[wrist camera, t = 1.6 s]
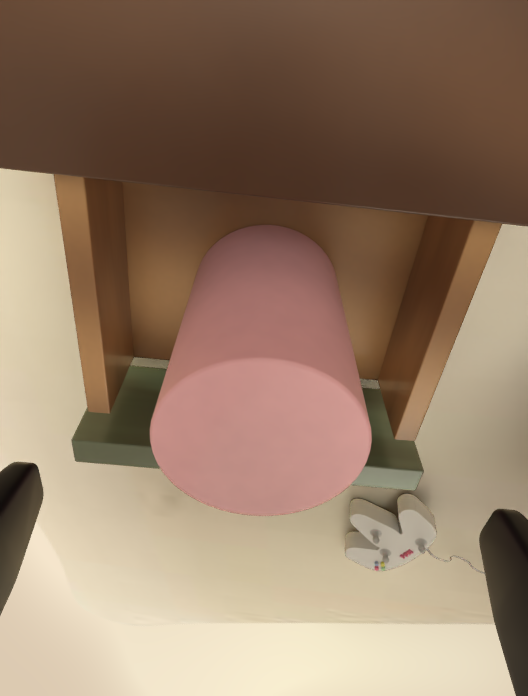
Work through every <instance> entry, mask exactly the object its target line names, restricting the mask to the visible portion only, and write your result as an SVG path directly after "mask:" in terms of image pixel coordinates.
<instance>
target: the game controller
mask: <svg viewBox="0 0 528 696" xmlns="http://www.w3.org/2000/svg"><path fill="white" fill-rule="evenodd" d="M397 504H398V515H399V521H400V522H398V520H397V518H396V516H395V515H394V514H392V513H391V512H389V511H387V510H385V509H382V508H380V507H378V506H376V505H374V504H372V503H370V502H368V501H366V500H363V499H353V500H352V501H351V502H350V522H351V524H352V525H353V526H354V527H355V528H356V529H357V530H358V531H359V532H349V533H348V534H347V535H346V537H345V556H346V557H347V558H348V559H350V560H352V561H354V562H356V563H358V564H360V565H362V566H364V567H366V568H368V569H372V570H375V571H386V570H390V569H394V568H396V567H399V566H401V565H404V564H406V563H407V562H409V561H411V560H413V559H415V558H416V557H417V556H419V555H420V554H423V553H425V551H426V550H427V551H428V552H429V554H430V555H432V556H433V557H435V558H436V559H439V560H441V561H446V560H442V559H440V558H438V557H436V556H434V555H433V554H432V553H431V552H430V551H429V550H428V549H427V548H428V547H429V546H430V545H431V544H432V543H433V541H434V540H435V538H436V534H437V531H436V526H435V520H434V516H433V514H432V512H431V511H430V509H429V508H428V507H426V506H425V505H424V504H423V503H422V502H421V501H420V500H419V499H418V498H417V497H416V496H414V495H411V494H403V495H401V496H400V497H399V498H398V499H397ZM451 557H457V558H460V559H462V560H464V561H466V562H467V563H468V564H469V565H470V566H471V567H472V568H473V569H474V570H476V571H478V572H480V573H484V572H481V571H479V570H477V569H476V568H474V567H473V566H472V565H471V563H470V562H468V561H467V560H465V559H463V558H461V557H458V556H451ZM451 557H450V561H451V560H452V559H451ZM446 562H449V561H446ZM484 574H485V573H484Z"/></svg>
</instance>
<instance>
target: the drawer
mask: <svg viewBox="0 0 528 696" xmlns="http://www.w3.org/2000/svg"><path fill="white" fill-rule="evenodd" d="M54 179H55V186H56V193H57V200H58V207H59V214H60V221H61V228H62V234H63V241H64V248H65V255H66V262H67V269H68V276H69V283H70V290H71V296H72V303H73V310H74V317H75V324H76V331H77V338H78V345H79V351H80V358H81V365H82V372H83V379H84V386H85V393H86V400H87V406H88V407H87V409H86V411H85V413H84V415H83V417H82V419H81V422H80V424H79V426H78V428H77V430H76V432H75V434H74V436H73V438H72V446H73V451H74V457H75V461H76V462H88V463H100V464H111V465H123V466H135V467H146V468H158V469H161V468H160V467H159V465H158V464H157V461H156V459H155V457H154V454H153V451H152V447H151V443H150V425H151V419H152V416H153V413H154V410H155V406H156V403H157V400H158V397H159V394H160V390H161V387H162V384H163V381H164V377H165V374H166V371H167V369H161V368H150V367H139V366H130V364H131V362H132V360H133V357H142V358H153V359H163V360H170V358H171V355H172V352H173V348H174V345H175V342H176V339H177V335H178V332H179V329H180V326H181V323H182V319H183V316H184V313H185V310H186V306H187V303H188V300H189V297H190V294H191V290H192V287H193V284H194V281H195V277H196V274H197V271H198V268H199V265H200V263H201V261H202V259H203V258H204V256H205V255H206V253H207V252H208V251H209V249H210V248H211V247H212V246H213V245H214V244H215V243H216V242H218V241H219V240H220V239H221V238H223V237H225V236H226V235H228V234H230V233H232V232H234V231H236V230H239V229H242V228H245V227H249V226H256V225H276V226H282V227H286V228H290V229H292V230H295V231H298V232H300V233H302V234H303V235H305V236H307V237H309V238H310V239H311V240H313V241H314V242H315V243H316V244H317V245H318V246H320V247H321V248H322V250H323V251H324V252H325V253H326V255H327V256H328V258H329V259H330V261H331V263H332V265H333V268H334V270H335V274H336V278H337V282H338V286H339V291H340V295H341V299H342V304H343V308H344V312H345V317H346V321H347V326H348V330H349V334H350V339H351V343H352V347H353V352H354V356H355V360H356V365H357V369H358V373H359V378H362V379H373V380H378V383H379V386H380V389H372V388H362V391H363V395H364V400H365V404H366V408H367V413H368V417H369V421H370V426H371V432H372V443H371V450H370V453H369V456H368V459H367V462H366V464H365V466H364V468H363V470H362V472H361V473H360V474H359V476H358V477H357V478H356V480H355V481H354V482H353V483H352V484H351V485H356V486H367V487H379V488H391V489H402V490H416V488H417V486H418V483H419V481H420V479H421V476H422V474H423V472H424V470H423V467H422V464H421V461H420V458H419V455H418V451H417V448H416V445H415V442H414V441H415V439H416V437H417V434H418V432H419V429H420V427H421V424H422V422H423V419H424V417H425V414H426V412H427V409H428V407H429V404H430V402H431V399H432V397H433V394H434V392H435V389H436V387H437V384H438V382H439V379H440V377H441V375H442V372H443V370H444V367H445V365H446V362H447V360H448V357H449V355H450V352H451V350H452V347H453V345H454V342H455V340H456V337H457V335H458V332H459V330H460V327H461V325H462V322H463V320H464V317H465V315H466V312H467V310H468V307H469V305H470V302H471V300H472V298H473V295H474V293H475V290H476V288H477V285H478V283H479V280H480V278H481V275H482V273H483V270H484V268H485V265H486V263H487V260H488V258H489V255H490V253H491V250H492V248H493V245H494V243H495V240H496V238H497V235H498V233H499V230H500V228H501V225H502V224H501V223H492V222H483V221H474V220H465V219H456V218H447V217H438V216H429V215H420V214H411V213H402V212H393V211H384V210H375V209H366V208H357V207H347V206H338V205H329V204H320V203H311V202H302V201H293V200H284V199H275V198H266V197H257V196H248V195H239V194H230V193H221V192H212V191H202V190H193V189H184V188H175V187H166V186H157V185H148V184H139V183H130V182H121V181H112V180H103V179H94V178H85V177H76V176H67V175H58V174H54Z"/></svg>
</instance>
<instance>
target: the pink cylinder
mask: <svg viewBox="0 0 528 696" xmlns="http://www.w3.org/2000/svg"><path fill="white" fill-rule="evenodd" d="M150 443H151V447H152V451H153V454H154V457H155V459H156V461H157V464H158V465H159V467H160V468H161V470H162V472H163V473H164V474H165V475H166V476H167V478H168V479H169V480H170V481H171V482H172V483H173V484H174V485H175V486H176V487H178V488H179V489H180V490H182V491H183V492H184V493H186V494H187V495H189V496H190V497H192V498H194V499H196V500H197V501H199V502H202V503H204V504H206V505H208V506H211V507H214V508H217V509H220V510H224V511H228V512H232V513H237V514H244V515H255V516H273V515H284V514H290V513H295V512H299V511H303V510H307V509H310V508H313V507H315V506H318V505H320V504H322V503H325V502H327V501H329V500H330V499H332V498H334V497H335V496H337V495H339V494H340V493H341V492H343V491H344V490H345V489H346V488H348V487H349V486H350V485H351V484H352V483H353V482H354V481H355V480H356V478H357V477H358V476H359V474H360V473H361V472H362V470H363V468H364V466H365V464H366V462H367V459H368V456H369V453H370V450H371V443H372V432H371V426H370V421H369V417H368V413H367V408H366V404H365V400H364V395H363V391H362V386H361V382H360V378H359V373H358V369H357V365H356V360H355V356H354V352H353V347H352V343H351V339H350V334H349V330H348V326H347V321H346V317H345V312H344V308H343V304H342V299H341V295H340V291H339V286H338V282H337V278H336V274H335V270H334V268H333V265H332V263H331V261H330V259H329V258H328V256H327V255H326V253H325V252H324V251H323V250H322V248H321V247H320V246H318V245H317V244H316V243H315V242H314V241H313V240H311V239H310V238H309V237H307V236H305V235H303V234H302V233H300V232H298V231H295V230H292V229H290V228H286V227H282V226H276V225H256V226H249V227H245V228H242V229H239V230H236V231H234V232H232V233H230V234H228V235H226V236H225V237H223V238H221V239H220V240H219V241H218V242H216V243H215V244H214V245H213V246H212V247H211V248H210V249H209V251H208V252H207V253H206V255H205V256H204V258H203V259H202V261H201V263H200V265H199V268H198V271H197V274H196V277H195V281H194V284H193V287H192V290H191V294H190V297H189V300H188V303H187V306H186V310H185V313H184V316H183V319H182V323H181V326H180V329H179V332H178V335H177V339H176V342H175V345H174V348H173V352H172V355H171V358H170V361H169V364H168V368H167V371H166V374H165V377H164V381H163V384H162V387H161V390H160V394H159V397H158V400H157V403H156V406H155V410H154V413H153V416H152V419H151V425H150Z"/></svg>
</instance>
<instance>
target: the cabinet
mask: <svg viewBox="0 0 528 696" xmlns="http://www.w3.org/2000/svg"><path fill="white" fill-rule="evenodd" d="M0 168H3V169H12V170H21V171H30V172H39V173H48V174H58V175H67V176H76V177H85V178H94V179H103V180H112V181H121V182H130V183H139V184H148V185H157V186H166V187H175V188H184V189H193V190H202V191H212V192H221V193H230V194H239V195H248V196H257V197H266V198H275V199H284V200H293V201H302V202H311V203H320V204H329V205H338V206H347V207H357V208H366V209H375V210H384V211H393V212H402V213H411V214H420V215H429V216H438V217H447V218H456V219H465V220H474V221H483V222H492V223H501V224H511V225H520V226H528V0H0Z"/></svg>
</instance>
